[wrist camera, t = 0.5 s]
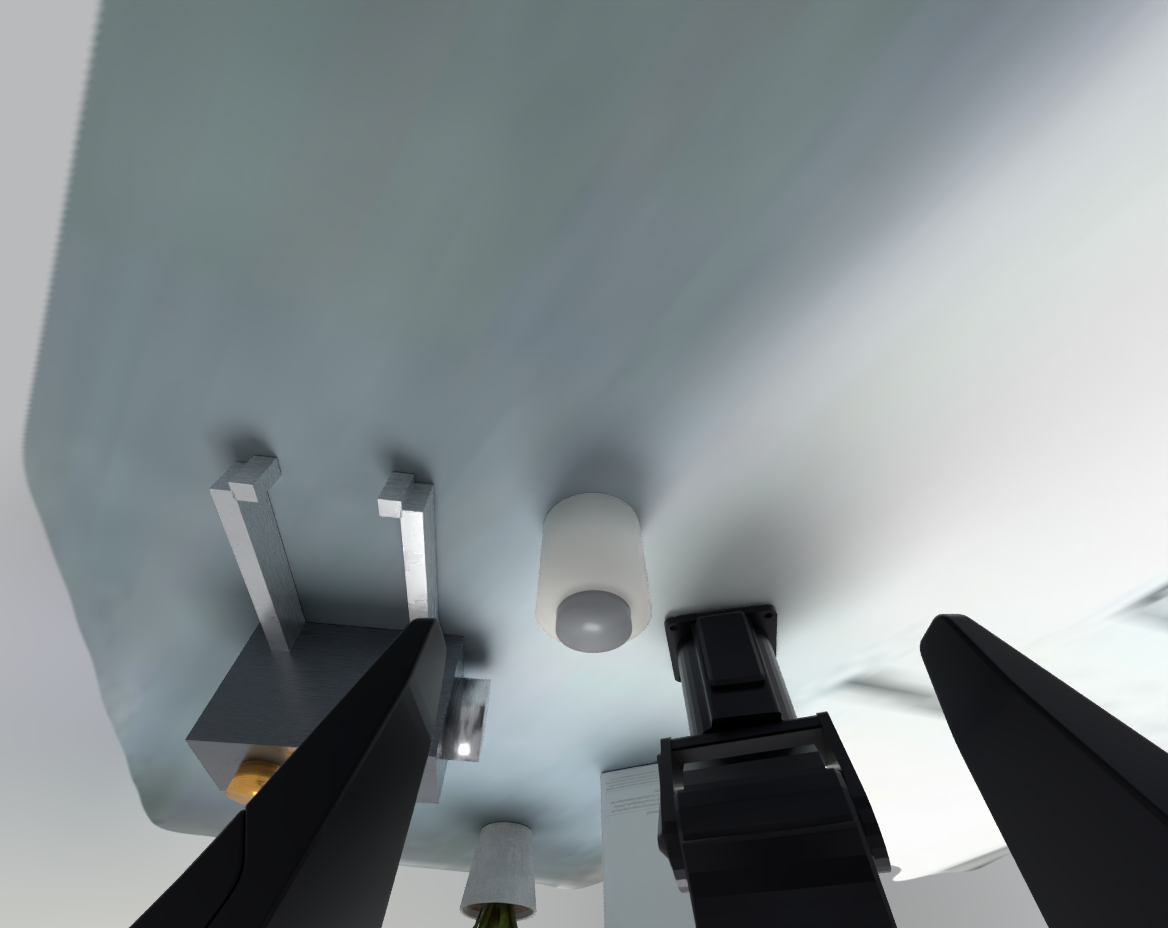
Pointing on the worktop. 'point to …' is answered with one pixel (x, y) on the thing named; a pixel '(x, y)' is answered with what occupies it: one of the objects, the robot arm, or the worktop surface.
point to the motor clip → (319, 645)
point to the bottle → (592, 574)
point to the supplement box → (637, 855)
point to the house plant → (501, 877)
